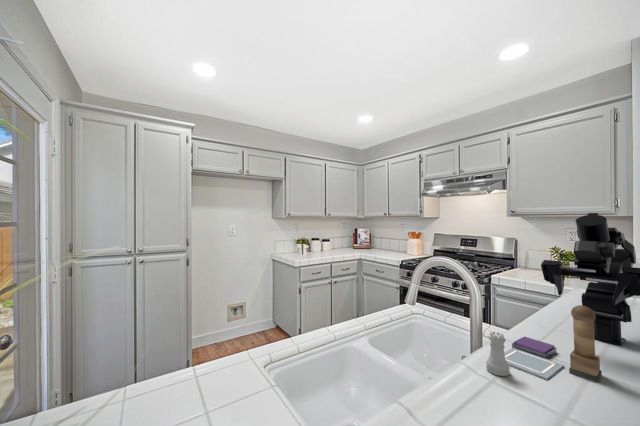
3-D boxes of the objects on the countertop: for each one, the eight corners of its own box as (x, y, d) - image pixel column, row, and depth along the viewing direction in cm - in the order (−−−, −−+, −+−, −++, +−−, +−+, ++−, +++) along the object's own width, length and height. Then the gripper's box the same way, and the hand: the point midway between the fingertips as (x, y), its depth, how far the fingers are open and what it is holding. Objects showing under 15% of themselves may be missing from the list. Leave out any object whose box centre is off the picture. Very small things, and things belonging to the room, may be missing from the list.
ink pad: (523, 342, 73) (523, 335, 73) (556, 352, 67) (556, 345, 68) (512, 348, 70) (511, 341, 70) (545, 359, 64) (545, 352, 64)
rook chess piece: (514, 378, 56) (513, 339, 56) (490, 375, 57) (489, 337, 57) (504, 367, 60) (503, 331, 60) (482, 365, 61) (481, 329, 61)
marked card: (513, 349, 69) (513, 347, 69) (564, 366, 60) (564, 364, 60) (494, 359, 64) (494, 357, 64) (546, 380, 55) (546, 377, 55)
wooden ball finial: (573, 366, 61) (571, 301, 61) (601, 375, 57) (598, 306, 58) (569, 373, 58) (566, 305, 59) (598, 382, 54) (595, 310, 55)
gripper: (544, 231, 76) (529, 265, 68) (647, 233, 61) (644, 277, 53) (551, 263, 79) (538, 299, 71) (652, 272, 64) (649, 319, 56)
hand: (585, 298), depth 63 cm, fingers open, 9 cm apart
